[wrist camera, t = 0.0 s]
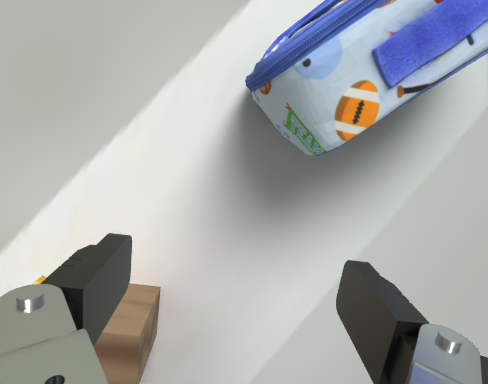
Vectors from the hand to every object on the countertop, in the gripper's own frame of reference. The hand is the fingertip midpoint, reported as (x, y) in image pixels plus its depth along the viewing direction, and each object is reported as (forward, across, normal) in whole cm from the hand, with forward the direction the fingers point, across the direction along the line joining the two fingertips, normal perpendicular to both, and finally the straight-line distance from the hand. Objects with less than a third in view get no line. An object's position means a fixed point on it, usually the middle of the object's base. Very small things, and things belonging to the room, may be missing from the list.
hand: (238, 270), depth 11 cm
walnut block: (+29, -12, -24) cm, 40 cm away
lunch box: (+30, +12, +15) cm, 35 cm away
